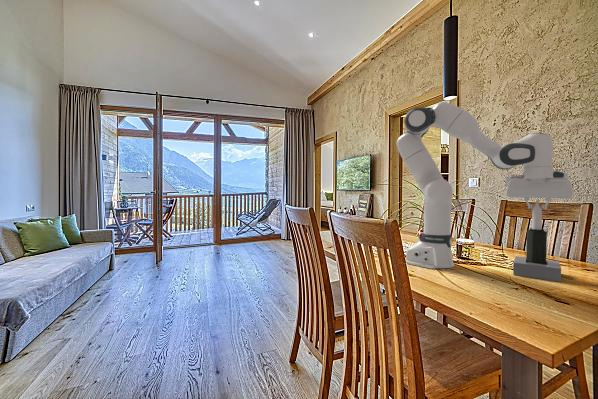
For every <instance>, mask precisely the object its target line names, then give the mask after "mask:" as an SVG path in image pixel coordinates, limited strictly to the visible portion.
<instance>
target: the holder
mask: <svg viewBox="0 0 598 399" xmlns="http://www.w3.org/2000/svg"><path fill="white" fill-rule="evenodd" d="M512 264H513V271H512V273H513V276H516V277H517V276H518V277H523V278H531V279H538V280H539V279H540V280H545V281H551V282H558V283H561V282H562V267H561V262H560V261H559V260H552V259H546V264H537V263H530V262H527V261H526V256H517V255H516V256H515V257H514V259H513V263H512Z"/></svg>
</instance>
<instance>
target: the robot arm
mask: <svg viewBox="0 0 598 399" xmlns="http://www.w3.org/2000/svg"><path fill="white" fill-rule="evenodd" d="M403 122H404V127H405V132H404V133H403V134H401V135H400V136H399V137H398V138H397V140H396V143H395V144H396V147H397V150H398V153H399V154H400V157H401V159H402V161H403V162H404V164H405V165H406V168H407V169H408V171H409V172H410V174H411V175H412V177H413V179H414V180H415V183H416V184H417V186H418V188H419V190H420V191H421V193H422V194H423V197H424V198H423V200H424V201H423V202H424V203H423V232H421V233H420V234H418V239H419V240H418V241H416V242H415V243H413V244H412V245H410V246H409V247H407V249H406V252H405V256H406V262H407V263H406V264H408V265H413V266H417V267H421V268H427V269H431V270H434V269H451V268H454V267H455V263H454V261H453V255H452V245H453V238H452V234H451V225H452V224H451V221H452V220H451V215H452V207H453V194H454V193H453V187H452V185H451V183H450V182H449V181H448V180H446V179H444V177H443V175H442V173H441V171H440V170H439V168H438V166H437V164H436V161H435V159H433V157H432V155H431V154H430V152H429V150H428V149H427V147H426V146H425V144H424V143H423V140H422V138H423V136H425V134H427V132H428V131H429V130H430V128H432V127H434V128H438V129H441V130H442V131H443V132H445V133H446V134H448V135H450V136H452V137H454V138H456V139H458V140H461V141H463V142H465V143H467V144H469V145H470V146H472V147H473V148H475V149H477V150H478V151H479V152H481V153H482V154H484V155H486V156H487V157H488V158H489V159H490V161H491V163H492V164H493V166H494V167H496V168H498V169H500V170H503V171H504V170H510V169H511V170H512V169H513V168H515V167H519V166H523V174H519V175H517V174H512V175H509V176H507V177H506V178H505V185H506V190H505V191H506V194H505V196H506V197H508V198H521V199H522V198H524V201H525V203H526V205H527V210H532V209H533V207H534V206H533V205H534V204H531V203H530V202H529V201H530V198H535V199H536V198H539V199H545V200H546V202H545V204H542V205H541V208H542V210H544V211H545V210H546V211H547V210H548V205H549V204H550V202H551V201H552V199H570V198H572V197H573V195H574V194H573V190H574V189H573V184H572V182H571V180H570V179H568V178H569V175H570V174H569V173H568V172H565V171H560V170H558V169H557V170H556V169H554V163H553V157H554V142H553V141H554V140H553V138H552V136H551V135H549V134H547V133H543V132H542V133H541V132H536V133H535V132H533V133H528V134H527V135H526V136H524V137H522V138H521V139H518V140H515V141H514V142H510V143H507V144H504V145H503V144H500V143H498V142H496V141H495V140H493V139H491V138H490V137H488V136H487V135H485V133H483V132H482V130H481V129H480V126H479V122H478V119H477V118H476V117H475V116H474V115H472V114H471V113H470V112H468V111H467V110H465V109H463V108H462V107H459V106H458V105H455V104H453V103H450V102H447V101H440V102H438V103H436V104H435V105H433V106H432V107H423V106H421V107H413V108H411V109H410V110H409V111H408V112H407V113H406V114H405V117H404V121H403Z"/></svg>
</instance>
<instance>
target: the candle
mask: <svg viewBox="0 0 598 399" xmlns="http://www.w3.org/2000/svg"><path fill="white" fill-rule="evenodd" d="M532 207H533V209H531V213H532V217H531V220H532V221H531V227H530V228H529V229H527V230H526V256H525V257H526V261H527V262H530V263H537V264H546V260H547V244H548V243H547V237H548V234H547V233H548V231H545V229H544V228H542V226H543V223H542V222H543V221H542V220H543V209H542V206H540V201H539V200H538V199H537V200H536V201H535V204H534V206H532Z"/></svg>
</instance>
